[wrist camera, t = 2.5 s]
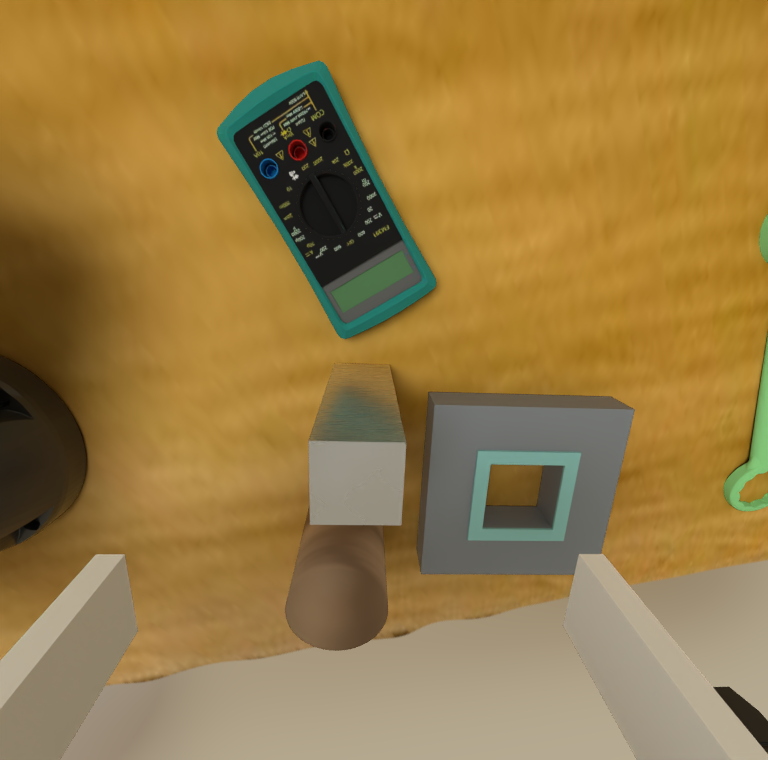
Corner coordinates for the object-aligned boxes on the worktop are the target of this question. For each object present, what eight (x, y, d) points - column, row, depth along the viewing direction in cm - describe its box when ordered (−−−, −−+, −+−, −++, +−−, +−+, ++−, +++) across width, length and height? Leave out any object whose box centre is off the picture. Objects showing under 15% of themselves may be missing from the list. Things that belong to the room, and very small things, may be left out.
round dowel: (310, 537, 33) (286, 650, 23) (309, 474, 31) (283, 569, 21) (380, 537, 33) (385, 650, 23) (383, 475, 31) (390, 569, 22)
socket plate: (416, 549, 33) (421, 576, 31) (428, 391, 29) (435, 405, 27) (578, 550, 34) (597, 576, 31) (611, 396, 30) (636, 410, 27)
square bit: (334, 414, 30) (309, 524, 17) (334, 362, 29) (308, 440, 16) (387, 415, 30) (401, 525, 17) (389, 364, 29) (406, 442, 16)
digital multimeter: (322, 66, 24) (315, 39, 21) (435, 286, 28) (442, 289, 25) (221, 133, 25) (202, 117, 22) (345, 337, 29) (342, 346, 26)
